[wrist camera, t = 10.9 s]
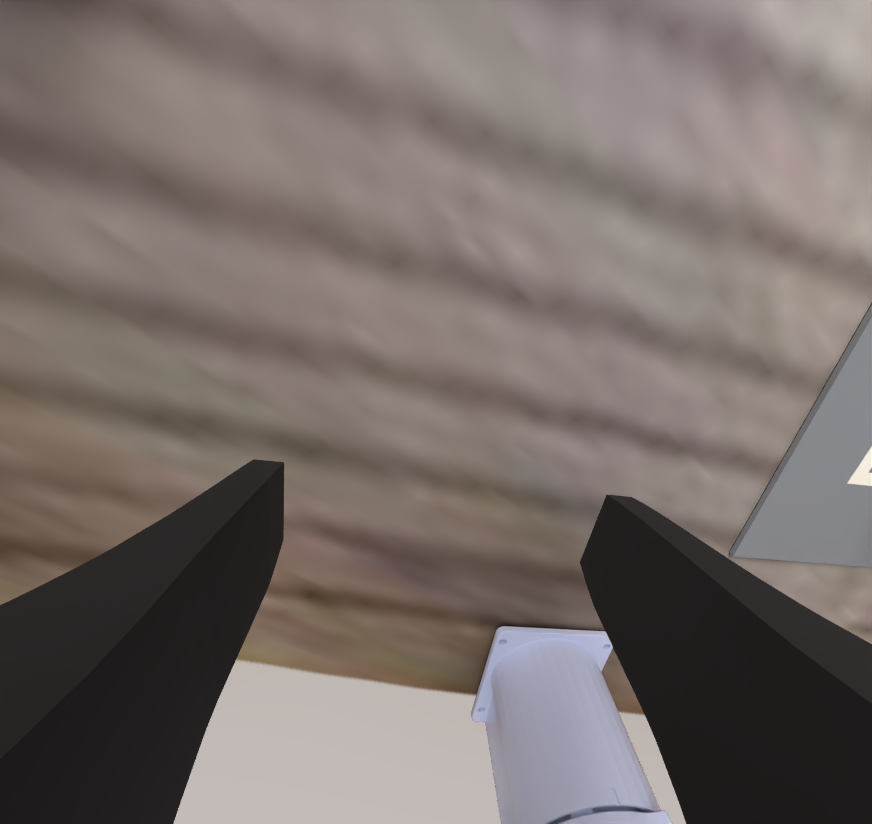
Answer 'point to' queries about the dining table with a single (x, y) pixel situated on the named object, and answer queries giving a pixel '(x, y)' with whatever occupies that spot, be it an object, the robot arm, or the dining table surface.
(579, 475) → the dining table surface
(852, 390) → the mat
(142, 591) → the robot arm
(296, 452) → the dining table surface
